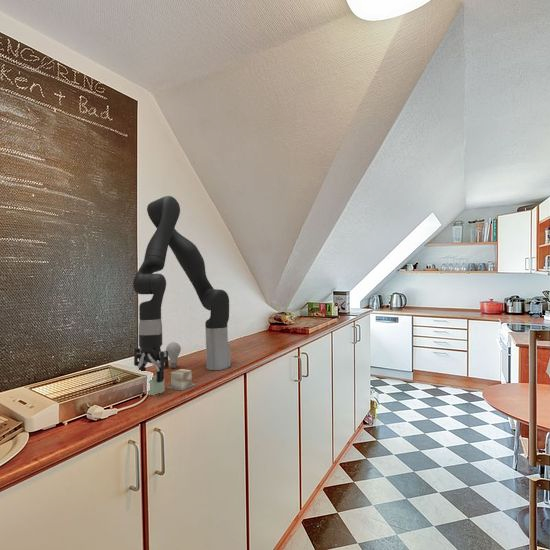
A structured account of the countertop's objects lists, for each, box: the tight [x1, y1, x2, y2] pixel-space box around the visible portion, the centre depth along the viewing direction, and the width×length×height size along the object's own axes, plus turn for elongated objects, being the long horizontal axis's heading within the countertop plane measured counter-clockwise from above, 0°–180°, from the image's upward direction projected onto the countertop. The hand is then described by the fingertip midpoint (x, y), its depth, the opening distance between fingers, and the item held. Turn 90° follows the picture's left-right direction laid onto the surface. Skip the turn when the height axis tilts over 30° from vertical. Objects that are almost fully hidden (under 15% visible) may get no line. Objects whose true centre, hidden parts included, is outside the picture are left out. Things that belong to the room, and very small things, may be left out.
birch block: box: [170, 368, 193, 389], centre depth 125 cm, size 5×5×5 cm
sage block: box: [148, 375, 166, 396], centre depth 119 cm, size 5×5×5 cm
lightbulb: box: [165, 341, 182, 369], centre depth 151 cm, size 6×6×11 cm
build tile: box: [166, 382, 197, 392], centre depth 125 cm, size 7×7×1 cm
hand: (151, 380), depth 119 cm, fingers open, 8 cm apart
